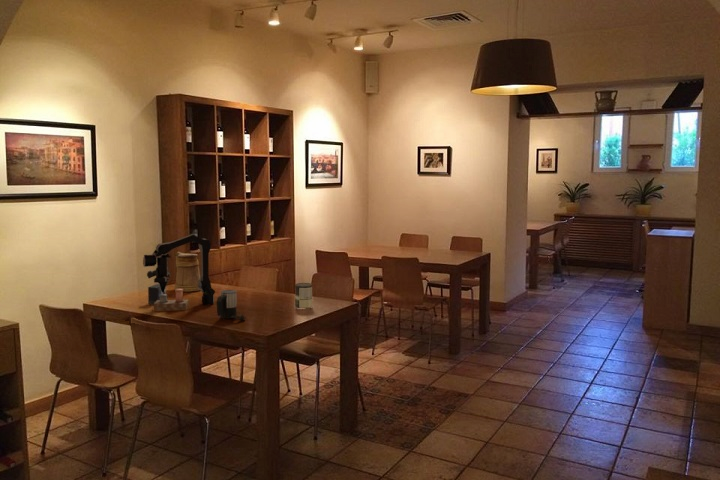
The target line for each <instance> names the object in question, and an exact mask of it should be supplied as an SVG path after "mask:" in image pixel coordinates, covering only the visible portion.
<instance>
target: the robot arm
mask: <svg viewBox="0 0 720 480" xmlns="http://www.w3.org/2000/svg"><path fill="white" fill-rule="evenodd" d="M192 242H193V243H194V244H197V245H198V249H199V252H200V280H198V286H199V289H200V290H199V291H201V293H202V296H201V303H202V305H214V304H215V293H216V290H214V288H213V287H212V283H211V280H210V277H209V276H210V275H209V274H210V272H209V270H210V268H209V258H210V256H209V255H210V251H211V247H212V243H211V241H210V240H209V239H206V238H202V237H199V236H198V235H197V236H196V235H195V234H192V233H191V234H188V235H185V236H183V237H181V238H178V239H175V240H172V241H169V242H168V241H167V242H163V243H158V244H156V246H155V249H154V250H153V252H152V254H143V257H142V259H143V260H142V266H143V267H144V268H146V267H155V266H156V268H155V269H154V270H149V271H147V273H146V277H147V278H148V279H151V278H153V277H154V278H153V282H154V283H156V284H160V287H161V291H162V292H164V290H165V288H166V289H167V285H168V283H169V280H170V278H171V277H172V275H171V273H170V272H169V271H168V270H169V266H168V258H171V255H170V254H169V252H171V251H172V250H173V249H177V248H179V247H181V246H185V245H186V244H189V243H192ZM168 278H169V279H168Z"/></svg>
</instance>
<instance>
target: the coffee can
mask: <svg viewBox="0 0 720 480" xmlns="http://www.w3.org/2000/svg"><path fill="white" fill-rule="evenodd" d="M294 288H295V289H294V291H295V295H294V299H295V300H294V302H295V303H294V305H295V306H294V308H295V307H296V308H311V307H312V308H313V283H309V282H298V283H295V284H294ZM296 308H295V309H296ZM312 308H311V309H312Z"/></svg>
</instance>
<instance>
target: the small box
mask: <svg viewBox="0 0 720 480" xmlns="http://www.w3.org/2000/svg"><path fill="white" fill-rule="evenodd" d="M147 291H148V294H147V295H148V298H147V299H148V300H147V304H148V305H154V303H155V302H156V301H157V300H160V297H159V295H160V294H167V287H166V288H165V290H164V292H162V291H161V287H160V284H159V283H156V284H154V285H150V286H148V287H147Z"/></svg>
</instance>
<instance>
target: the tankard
mask: <svg viewBox="0 0 720 480" xmlns="http://www.w3.org/2000/svg"><path fill="white" fill-rule="evenodd" d="M199 264H200V262H199V259H198V254H197V253H183V252H180V251H177V252H176V254H175V267H176V277H175V278H176V279H175V284H174V290H175V289H183V293H185V292H187V293H188V292H197V291H201V290H200V289H199V286H198V280H200V278H201V271H200V266H199Z"/></svg>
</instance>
